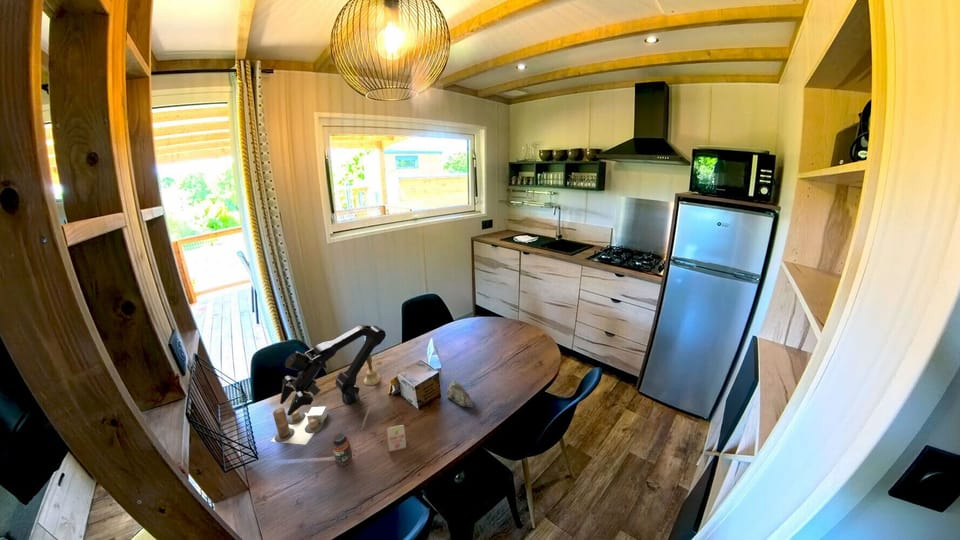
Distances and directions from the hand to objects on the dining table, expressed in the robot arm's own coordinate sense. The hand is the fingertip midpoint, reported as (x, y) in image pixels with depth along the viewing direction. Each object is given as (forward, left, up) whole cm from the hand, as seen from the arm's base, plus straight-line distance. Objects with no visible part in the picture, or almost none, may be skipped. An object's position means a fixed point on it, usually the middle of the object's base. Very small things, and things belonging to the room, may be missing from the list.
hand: (284, 409), depth 133 cm
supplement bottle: (-28, +9, -13) cm, 32 cm away
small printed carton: (-46, +1, -13) cm, 48 cm away
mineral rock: (-67, -25, -13) cm, 72 cm away
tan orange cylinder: (+1, +2, -12) cm, 12 cm away
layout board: (-3, -3, -13) cm, 13 cm away
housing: (-7, -8, -12) cm, 16 cm away
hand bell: (-19, -37, -13) cm, 43 cm away
